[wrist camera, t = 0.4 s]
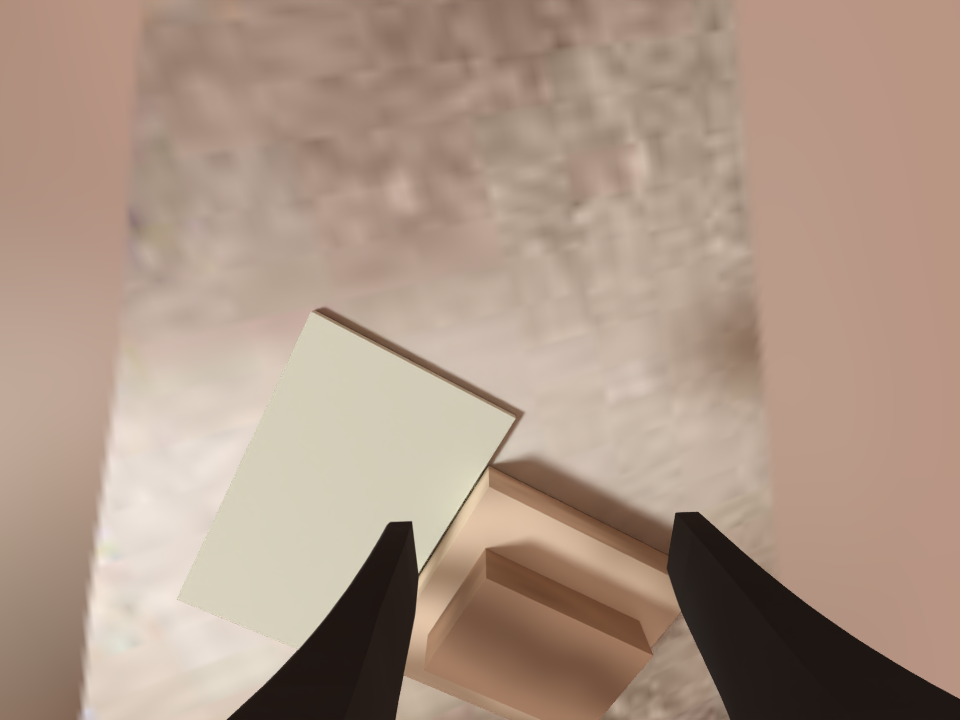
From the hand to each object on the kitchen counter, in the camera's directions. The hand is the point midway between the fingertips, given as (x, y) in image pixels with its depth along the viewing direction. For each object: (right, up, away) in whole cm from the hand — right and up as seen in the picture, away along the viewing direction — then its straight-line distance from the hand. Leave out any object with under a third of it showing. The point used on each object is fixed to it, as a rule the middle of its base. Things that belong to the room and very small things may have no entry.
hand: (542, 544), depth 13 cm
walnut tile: (+1, -9, +11) cm, 14 cm away
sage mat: (-9, -3, +12) cm, 15 cm away
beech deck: (+1, -8, +13) cm, 15 cm away
